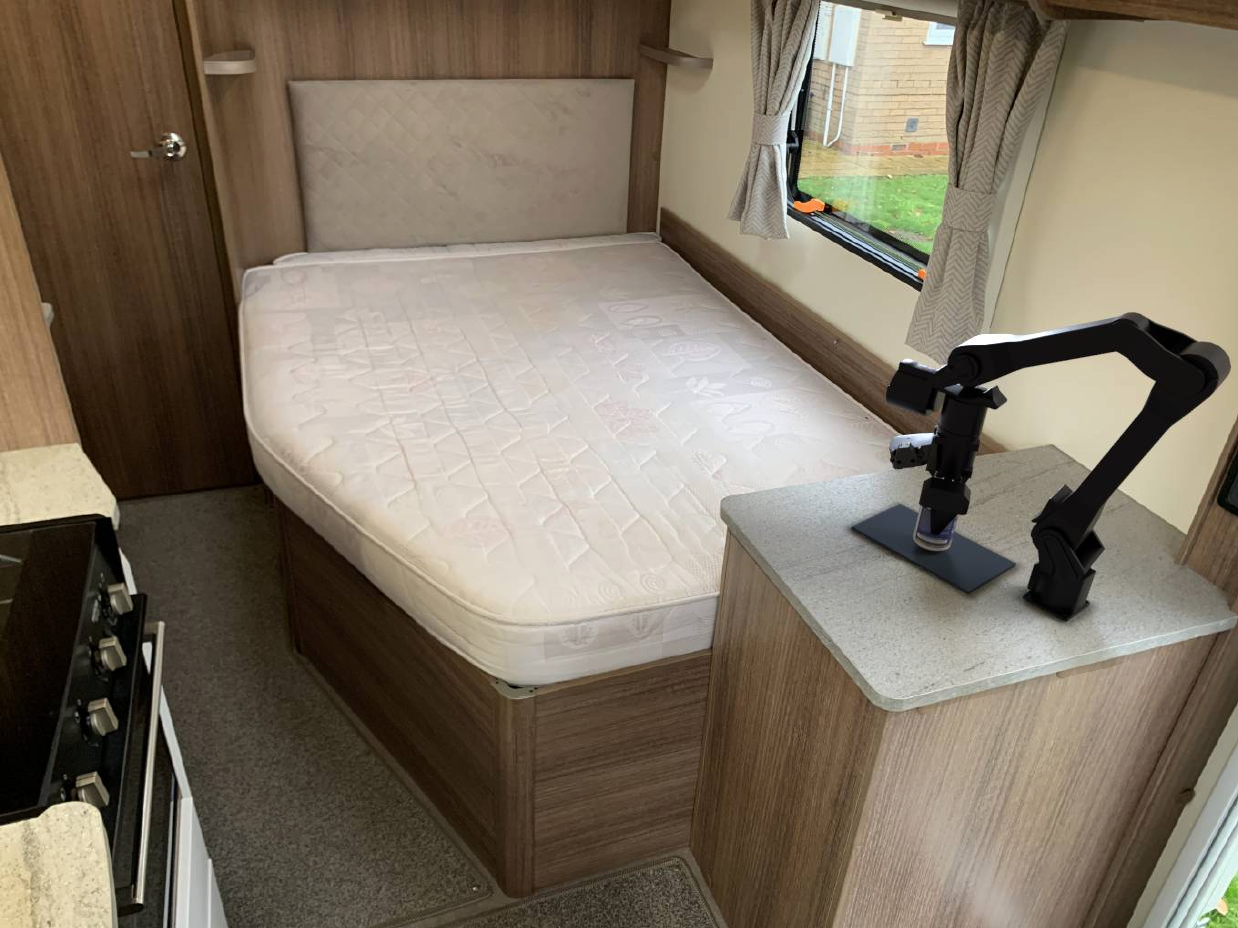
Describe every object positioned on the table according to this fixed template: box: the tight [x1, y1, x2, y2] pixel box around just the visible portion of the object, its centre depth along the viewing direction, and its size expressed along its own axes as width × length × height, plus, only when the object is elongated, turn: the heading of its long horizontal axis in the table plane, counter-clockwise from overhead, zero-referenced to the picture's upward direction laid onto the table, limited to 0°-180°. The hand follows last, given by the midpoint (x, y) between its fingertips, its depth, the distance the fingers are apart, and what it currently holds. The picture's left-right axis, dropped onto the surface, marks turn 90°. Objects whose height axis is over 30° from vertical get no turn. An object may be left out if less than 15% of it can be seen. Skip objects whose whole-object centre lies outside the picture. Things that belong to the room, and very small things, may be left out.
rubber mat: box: [851, 503, 1017, 595], centre depth 139 cm, size 20×12×1 cm, turn 39°
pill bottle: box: [913, 477, 960, 551], centre depth 136 cm, size 5×5×10 cm
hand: (936, 524), depth 137 cm, fingers closed on pill bottle, 5 cm apart
